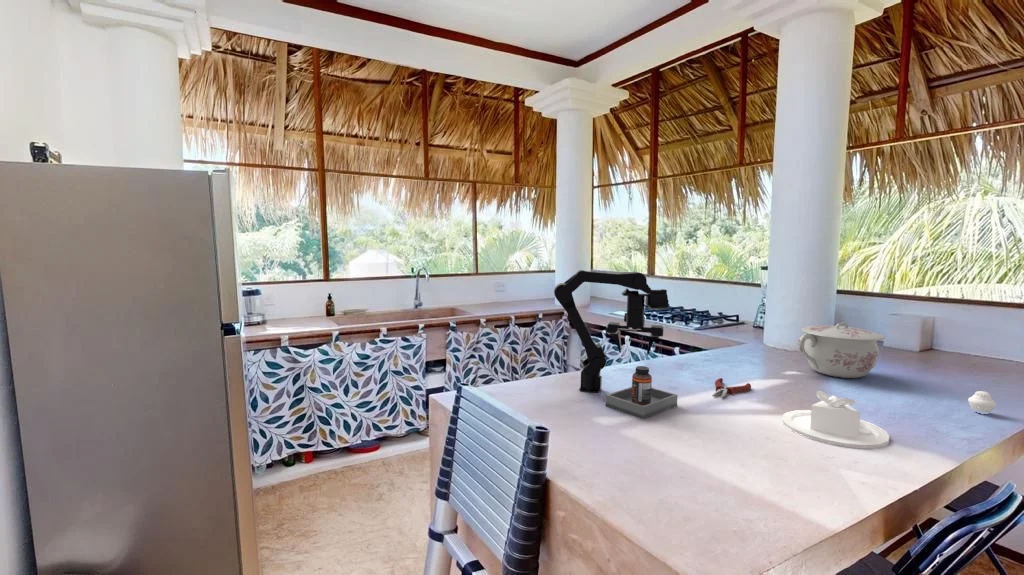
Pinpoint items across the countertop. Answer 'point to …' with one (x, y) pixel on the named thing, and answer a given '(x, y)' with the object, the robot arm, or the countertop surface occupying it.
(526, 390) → the countertop surface
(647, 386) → the supplement bottle
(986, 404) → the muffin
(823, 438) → the dish
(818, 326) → the chamber pot
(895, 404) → the countertop surface
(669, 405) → the tray
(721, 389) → the pliers
